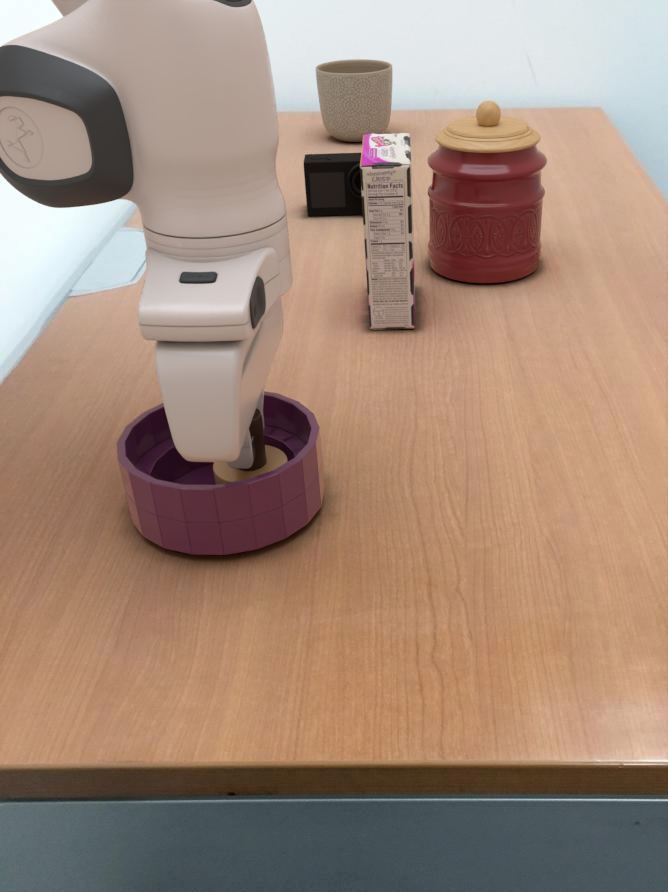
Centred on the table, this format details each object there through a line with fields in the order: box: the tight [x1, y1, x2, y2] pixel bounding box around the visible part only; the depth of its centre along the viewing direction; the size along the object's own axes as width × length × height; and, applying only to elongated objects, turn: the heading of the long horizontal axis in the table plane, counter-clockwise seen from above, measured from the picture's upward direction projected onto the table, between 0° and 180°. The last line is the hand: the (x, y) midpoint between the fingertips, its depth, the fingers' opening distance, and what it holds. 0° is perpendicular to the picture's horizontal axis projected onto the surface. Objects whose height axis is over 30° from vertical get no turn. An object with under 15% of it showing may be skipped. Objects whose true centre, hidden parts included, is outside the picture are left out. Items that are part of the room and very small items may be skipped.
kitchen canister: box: [427, 100, 548, 284], centre depth 106 cm, size 13×13×18 cm
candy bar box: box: [360, 132, 416, 331], centre depth 96 cm, size 11×5×16 cm, turn 0°
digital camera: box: [303, 152, 363, 217], centre depth 126 cm, size 10×5×7 cm, turn 92°
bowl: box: [115, 390, 326, 556], centre depth 70 cm, size 14×14×6 cm
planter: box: [315, 58, 393, 143], centre depth 157 cm, size 12×12×11 cm
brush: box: [213, 408, 288, 484], centre depth 69 cm, size 5×5×7 cm
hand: (247, 449), depth 69 cm, fingers closed on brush, 2 cm apart
